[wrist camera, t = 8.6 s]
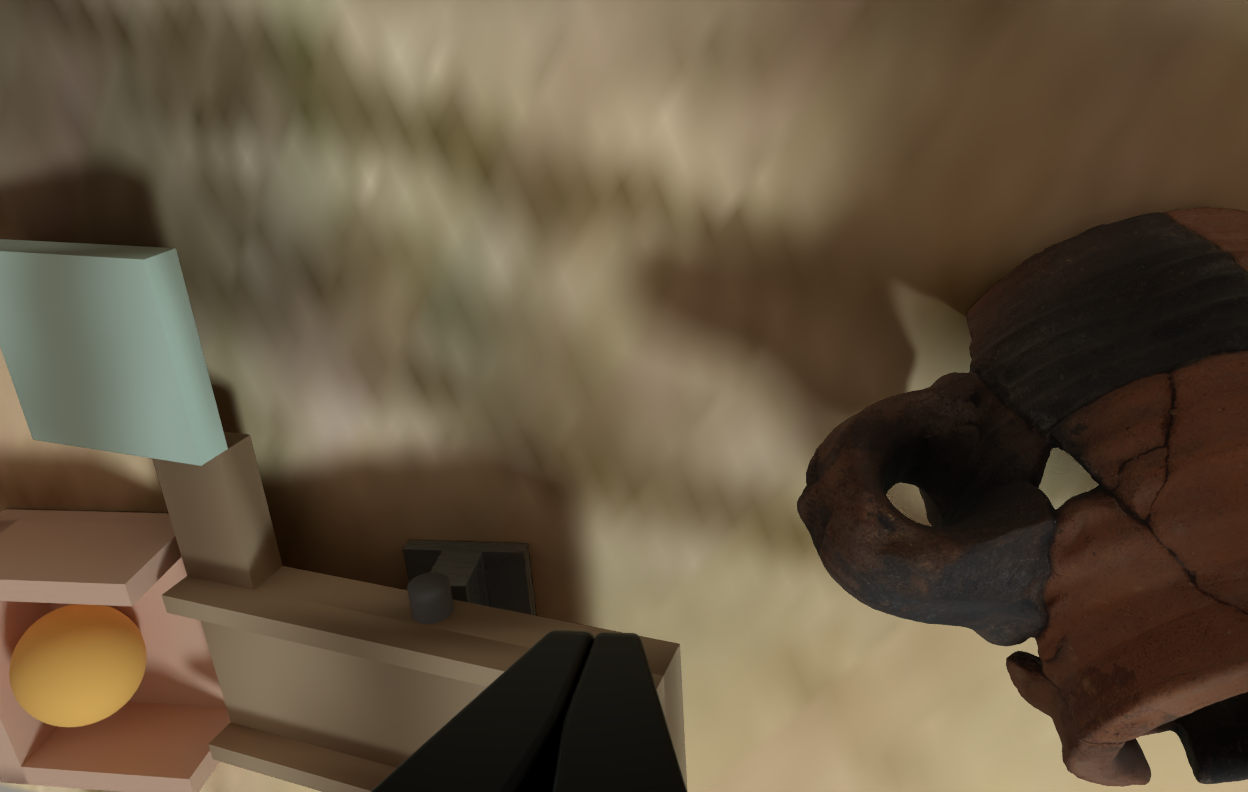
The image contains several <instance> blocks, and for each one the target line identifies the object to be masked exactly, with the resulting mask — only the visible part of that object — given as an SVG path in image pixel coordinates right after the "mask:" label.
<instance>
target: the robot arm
mask: <svg viewBox="0 0 1248 792" xmlns="http://www.w3.org/2000/svg"><path fill="white" fill-rule="evenodd" d="M370 792H687V789H686V785H685V782H684V779H683V775H682V772H681V769H680V765H679V762H678V759H677V756H676V752H675V749H674V746H673V742H672V739H671V736H670V732H669V729H668V726H667V722H666V719H665V716H664V712H663V709H662V706H661V702H660V699H659V696H658V692H657V689H656V686H655V682H654V679H653V676H652V673H651V669H650V666H649V663H648V659H647V656H646V653H645V649H644V646H643V643H642V640H641V638H640V636H639V635H637V634H634V633H614V632H601V633H599V634H597V635H596V636H594V635H593V634H592V633H591V632H588V631H568V630H554V631H551V632H549V633H547V634H546V635H545V636H544V637H543V638H542V639H540V640H539V641H538V642H537V643H536V644H535V645H534V646H533V647H531V648H530V649H529V650H528V651H527V652H526V653H525V654H524V655H523V656H521V657H520V658H519V659H518V660H517V661H516V662H515V663H514V664H512V665H511V666H510V667H509V668H508V669H507V670H506V671H505V672H504V673H502V674H501V675H500V676H499V677H498V678H497V679H496V680H495V681H493V682H492V683H491V684H490V685H489V686H488V687H487V688H486V689H485V690H483V691H482V692H481V693H480V694H479V695H478V696H477V697H476V698H474V699H473V700H472V701H471V702H470V703H469V704H468V705H467V706H466V707H464V708H463V709H462V710H461V711H460V712H459V713H458V714H457V715H455V716H454V717H453V718H452V719H451V720H450V721H449V722H448V723H447V724H445V725H444V726H443V727H442V728H441V729H440V730H439V731H438V732H436V733H435V734H434V735H433V736H432V737H431V738H430V739H429V740H427V741H426V742H425V743H424V744H423V745H422V746H421V747H420V748H419V749H417V750H416V751H415V752H414V753H413V754H412V755H411V756H410V757H408V758H407V759H406V760H405V761H404V762H403V763H402V764H401V765H400V766H398V767H397V768H396V769H395V770H394V771H393V772H392V773H391V774H389V775H388V776H387V777H386V778H385V779H384V780H383V781H382V782H381V783H379V784H378V785H377V786H376V787H375V788H374V789H373V790H372V791H370Z"/></svg>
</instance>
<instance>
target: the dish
mask: <svg viewBox="0 0 1248 792" xmlns="http://www.w3.org/2000/svg"><path fill="white" fill-rule="evenodd" d="M186 576H187V573H186V570H185V567H184V563H183V560H182V556H181V553H180V550H179V546H178V543H177V540H176V536H175V533H174V530H173V526H172V523H171V519H170V516H169V513H136V512H95V511H55V510H14V509H4V510H3V511H1V512H0V781H1V782H3V783H16V784H29V785H42V786H55V787H69V788H82V789H95V790H108V791H121V792H199V791H200V789H201V788H202V787H203V785H204V784H205V782H206V781H207V779H208V778H209V777H210V775H211V774H212V772H213V771H214V769H215V768H216V766H217V765H218V764H219V762H220V761H217V760H214V759H213V758H212V755H211V751H210V748H209V745H208V744H209V743H210V742H211V741H212V740H213V739H214V738H215V737H216V736H217V735H218V734H219V733H220V732H221V731H222V730H223V729H224V728H225V727H226V726H227V725H228V724H229V723H230V722H231V721H230V718H229V714H228V711H227V708H226V704H225V701H224V698H223V694H222V691H221V688H220V684H219V681H218V677H217V674H216V671H215V667H214V664H213V661H212V657H211V654H210V651H209V647H208V644H207V640H206V637H205V634H204V630H203V627H202V624H201V621H200V620H196V619H192V618H187V617H183V616H179V615H174V614H170V613H167V611H166V608H165V605H164V602H163V598H162V594H164V593H165V592H166V591H168V590H169V589H170V588H172V587H173V586H174V585H176V584H177V583H178V582H180V581H181V580H182V579H184V578H185V577H186ZM72 604H86V605H106V606H109V607H112V608H114V609H116V610H118V611H120V612H122V613H123V614H125V615H126V616H127V617H129V618H130V619H131V620H132V621H133V622H134V624H135V625H136V626H137V627H138V629H139V631H140V632H141V634H142V637H143V639H144V642H145V646H146V654H147V662H146V667H145V673H144V676H143V679H142V681H141V683H140V685H139V687H138V689H137V690H136V692H135V693H134V695H133V696H132V697H131V699H130V700H129V701H128V702H127V703H126V704H125V705H124V706H123V707H121V708H120V709H119V710H118V711H117V712H115V713H114V714H112V715H111V716H109V717H107V718H105V719H103V720H100V721H98V722H96V723H93V724H89V725H85V726H80V727H59V726H53V725H50V724H46V723H44V722H42V721H39V720H37V719H36V718H34V717H32V716H31V715H30V714H28V713H27V712H26V711H25V710H24V709H23V708H22V707H21V706H20V704H19V703H18V701H17V700H16V698H15V696H14V694H13V691H12V688H11V684H10V677H9V670H10V662H11V658H12V654H13V652H14V649H15V647H16V645H17V643H18V641H19V640H20V639H21V637H22V636H23V634H24V633H25V632H26V631H27V629H28V628H29V627H30V626H31V625H32V624H34V623H35V622H36V621H37V620H38V619H40V618H41V617H43V616H44V615H46V614H48V613H50V612H52V611H54V610H56V609H58V608H61V607H64V606H68V605H72Z"/></svg>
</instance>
